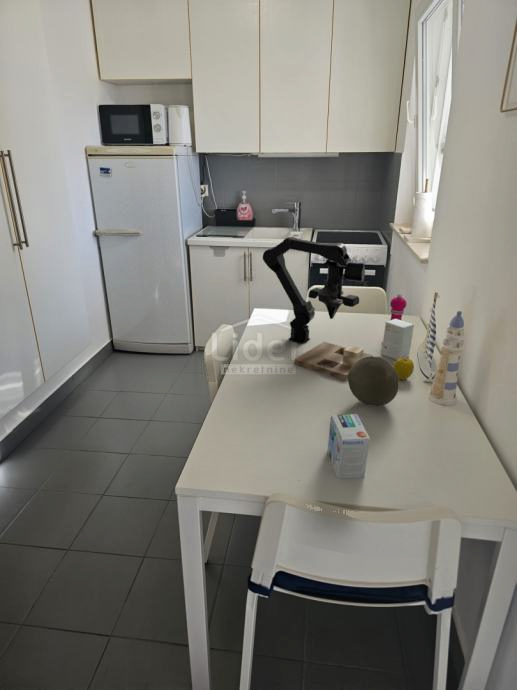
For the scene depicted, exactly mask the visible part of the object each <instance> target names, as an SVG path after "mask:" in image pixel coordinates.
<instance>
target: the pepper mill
mask: <svg viewBox="0 0 517 690" xmlns="http://www.w3.org/2000/svg"><path fill="white" fill-rule="evenodd" d="M402 296H403V295H402V293H398V294H397V295H396V296H395V297H393V298H392V299H391V300H390V302H389V303H390V304H389V305H390V307H391V308H390V313H391V315H390V319H389V321H390V320H393V319H398V320H401V321H403V320H402V318H403V317H402V316H403V315H404V314H405V309H406V307H407V300H406V299H405V298H404V297H402Z"/></svg>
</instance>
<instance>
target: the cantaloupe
mask: <svg viewBox="0 0 517 690" xmlns="http://www.w3.org/2000/svg"><path fill="white" fill-rule="evenodd" d="M393 366H394V365H392V363H391V362H390V361H388V360H387V359H386V358H383V357H380V356H370V357H364V358H362V359H360V360H358V361H357V362H356V363H355V364H354V365H353V366H352V368H351V370H350V372H349V375H348V379H347V384H348V387H349V389H350V391H351V393H352V395H353V396H354V397H355V398H356V400H357V401H359V402H360V403H362V404H364V405H365V406H372V407H382V406H386V405H387V404H389V403H391V402H393V400H394V399H395V397H396V396H397V394H398V391H399V388H400V387H399V385H400V384H399V383H400V381H399V380H400V379H399V378H398V374H397V372H396V371H395V369H394V368H393Z"/></svg>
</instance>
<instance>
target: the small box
mask: <svg viewBox="0 0 517 690" xmlns="http://www.w3.org/2000/svg"><path fill="white" fill-rule="evenodd" d="M414 325H415V324H414V323H411V322H408V321H404V320H402V321H401V320H398V319H393V320H390V319H389V320H387V321H385V325H384V333H383V338H382V339H383V340H382V346H381V355H383V356H385V357H388V358H391V359H393V360H396V361H397V360H398V359H399V358H409V357H410V351H411V346H412V338H413V333H414V327H415V326H414Z"/></svg>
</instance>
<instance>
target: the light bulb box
mask: <svg viewBox="0 0 517 690" xmlns="http://www.w3.org/2000/svg"><path fill="white" fill-rule="evenodd" d="M328 431H329V433H328V440H327V441H328V443H327V451H326V452H327V455H328V457H329V459H330V463H331V465H332V468H333V471H334V474H335V477H336V478H337V479H348V478H349V479H350V478H351V479H355V478H358V479H359V478H360V479H361V478H365V474H366V465H367V459H368V453H369V447H370V440H371V438H370V436H369V434H368V432H367V430H366V428H365V427H364V425H363V423H362V420H361V419H360V417H359V415H358V414H356V413H353V414H331V415H330V424H329V430H328Z"/></svg>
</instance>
